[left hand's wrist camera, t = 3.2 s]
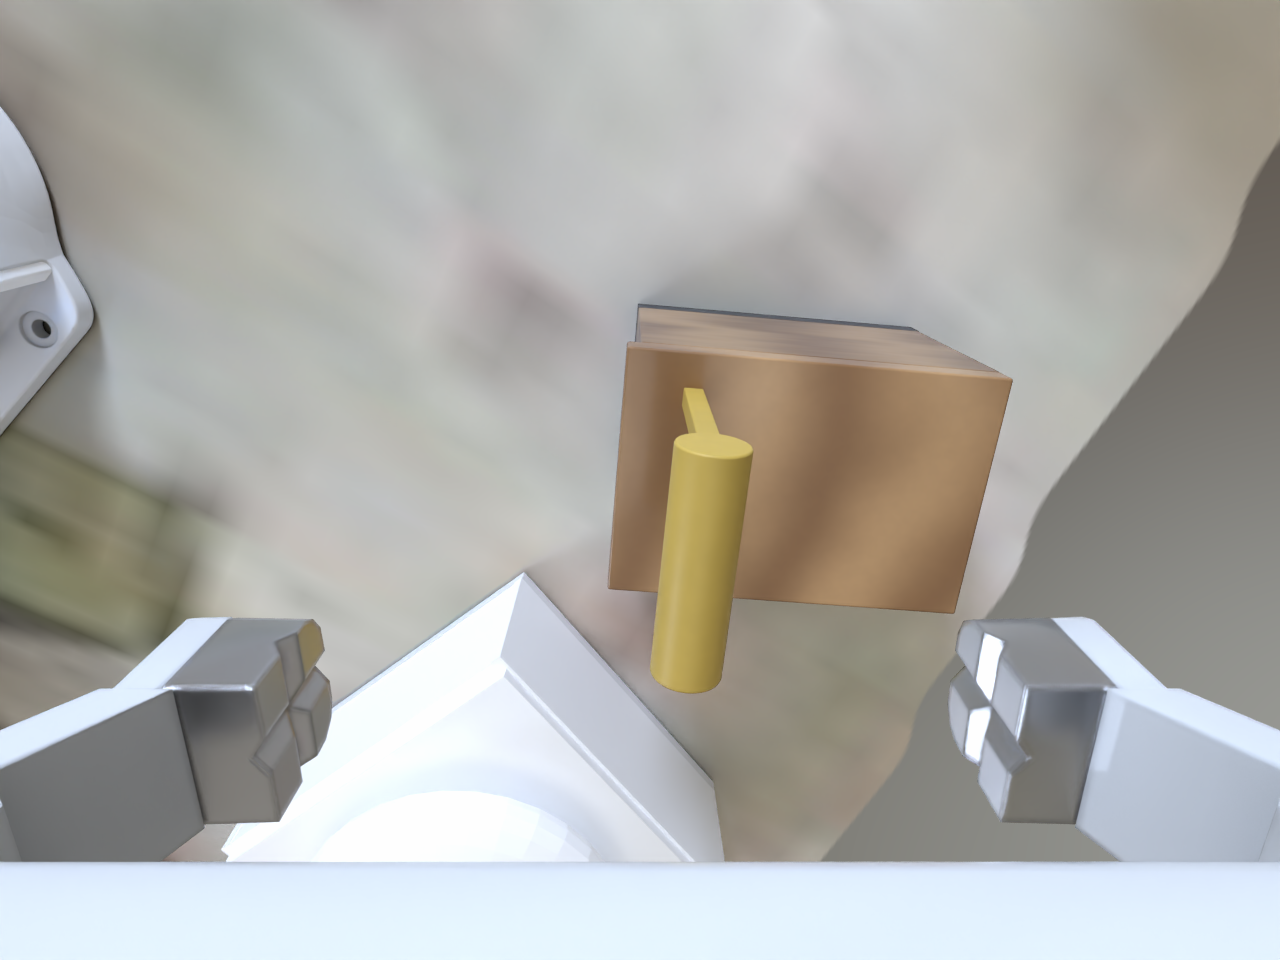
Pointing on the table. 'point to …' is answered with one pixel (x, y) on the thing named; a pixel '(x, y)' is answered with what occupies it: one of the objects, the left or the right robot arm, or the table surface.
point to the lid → (792, 488)
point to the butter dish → (495, 758)
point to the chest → (796, 337)
